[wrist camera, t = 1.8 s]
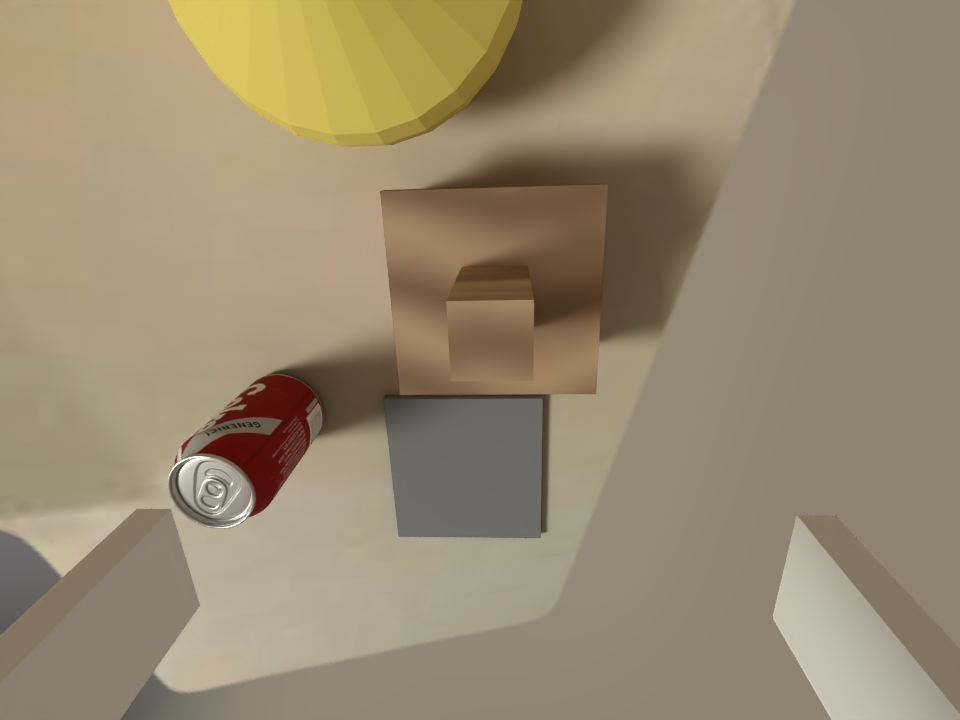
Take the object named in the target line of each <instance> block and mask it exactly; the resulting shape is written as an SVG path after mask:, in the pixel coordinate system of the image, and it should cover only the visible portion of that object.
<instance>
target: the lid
mask: <svg viewBox="0 0 960 720" xmlns="http://www.w3.org/2000/svg"><path fill="white" fill-rule="evenodd" d="M380 194H381V205H382V215H383V225H384V235H385V246H386V256H387V266H388V277H389V287H390V297H391V307H392V318H393V328H394V338H395V349H396V359H397V369H398V379H399V390H400V395H502V394H596V386H597V369H598V352H599V334H600V317H601V300H602V283H603V266H604V249H605V232H606V214H607V197H608V184H572V185H539V186H505V187H472V188H438V189H405V190H383V191H380Z"/></svg>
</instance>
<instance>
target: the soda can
mask: <svg viewBox="0 0 960 720" xmlns="http://www.w3.org/2000/svg"><path fill="white" fill-rule="evenodd" d="M323 422H324V410H323V406H322V403H321V401H320V399H319V397H318V396H317V394H316V393H315V392H314V391H313V390H312V388H311V387H309V386H308V385H307V384H306V383H304V382H303V381H301V380H299V379H297V378H295V377H292V376H288V375H283V374H273V375H267V376H264V377H262V378H260V379H258V380H256V381H255V382H254V383H253V384H251V385H250V386H249V387H248V388H247V389H246V390H244V391H243V392H242V393H241V394H240V395H239V396H238V397H236V398H235V399H234V400H233V401H232V402H231V403H230V404H228V405H227V406H226V407H225V408H224V409H223V410H221V411H220V412H219V413H218V414H217V415H216V416H215V417H213V418H212V419H211V420H210V421H209V422H208V423H207V424H205V425H204V426H203V427H202V428H201V429H200V430H198V431H197V432H196V433H195V434H194V435H193V436H192V437H190V438H189V439H188V440H187V441H186V442H185V443H184V444H183V445H182V446H181V448H180V449H179V451H178V453H177V455H176V459H175V465H174V467H173V468H172V469H171V471H170V473H169V476H168V482H167V486H168V492H169V495H170V497H171V500H172V501H173V503H174V505H175V506H176V507H177V508H178V510H179V511H180V512H181V513H182V514H184V515H185V516H186V517H187V518H189V519H190V520H192V521H194V522H196V523H198V524H200V525H203V526H206V527H210V528H219V529H222V528H230V527H234V526H237V525H239V524H241V523H242V522H244V521H245V520H246V519H247V518H248V517H251V516H254V515H256V514H258V513H260V512H261V511H263V510H264V509H265V508H266V507H267V506H268V505H269V504H270V503H271V501H272V500H273V498H274V497H275V496H276V494H277V493H278V491H279V490H280V488H281V487H282V485H283V484H284V483H285V481H286V480H287V478H288V477H289V475H290V474H291V473H292V471H293V470H294V468H295V467H296V465H297V464H298V462H299V461H300V460H301V458H302V457H303V455H304V454H305V452H306V451H307V450H308V448H309V447H310V445H311V444H312V442H313V441H314V439H315V438H316V437H317V435H318V434H319V432H320V430H321V429H322V426H323Z"/></svg>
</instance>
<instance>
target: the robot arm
mask: <svg viewBox="0 0 960 720" xmlns="http://www.w3.org/2000/svg"><path fill="white" fill-rule="evenodd" d="M199 606H200V604H199V601H198V597H197V594H196V591H195V587H194V584H193V581H192V578H191V574H190V571H189V568H188V564H187V561H186V558H185V554H184V551H183V548H182V545H181V541H180V538H179V535H178V531H177V528H176V525H175V521H174V518H173V515H172V511H171V509H136V510H135V511H134V512H133V513H132V514H131V515H130V516H129V517H128V518H127V519H126V520H124V521H123V522H122V523H121V524H120V525H119V526H118V527H117V528H116V529H115V530H114V531H113V532H112V533H110V534H109V535H108V536H107V537H106V538H105V539H104V540H103V541H102V542H101V543H100V544H99V545H97V546H96V547H95V548H94V549H93V550H92V551H91V552H90V553H89V554H88V555H87V556H86V557H85V558H83V559H82V560H81V561H80V562H79V563H78V564H77V565H76V566H75V567H74V568H73V569H72V570H71V571H69V572H68V573H67V574H66V575H65V576H64V577H63V578H62V579H61V580H60V581H59V582H58V583H57V584H56V585H54V586H53V587H52V588H51V589H50V590H49V591H48V592H47V593H46V594H45V595H44V596H43V597H42V598H40V599H39V600H38V601H37V602H36V603H35V604H34V605H33V606H32V607H31V608H30V609H28V610H27V611H26V612H25V613H24V614H23V615H22V616H21V617H20V618H19V619H18V620H17V621H15V622H14V623H13V624H12V625H11V626H10V627H9V628H8V629H7V630H6V631H5V632H4V633H3V634H1V635H0V720H120V718H121V717H122V716H123V714H124V713H125V712H126V710H127V709H128V707H129V706H130V704H131V703H132V702H133V700H134V699H135V697H136V696H137V694H138V693H139V692H140V690H141V689H142V687H143V686H144V684H145V683H146V682H147V680H148V679H149V677H150V676H151V674H152V673H153V672H154V670H155V669H156V667H157V666H158V664H159V663H160V662H161V660H162V659H163V657H164V656H165V654H166V653H167V652H168V650H169V649H170V647H171V646H172V644H173V643H174V642H175V640H176V639H177V637H178V636H179V634H180V633H181V632H182V630H183V629H184V627H185V626H186V624H187V623H188V622H189V620H190V619H191V617H192V616H193V614H194V613H195V612H196V610H197V609H198V607H199ZM773 619H774V621H775V623H776V624H777V626H778V628H779V629H780V632H781V633H782V635H783V636H784V638H785V640H786V642H787V644H788V645H789V647H790V649H791V650H792V652H793V654H794V656H795V657H796V659H797V661H798V662H799V664H800V666H801V668H802V669H803V671H804V673H805V675H806V676H807V678H808V680H809V681H810V683H811V685H812V687H813V688H814V690H815V692H816V694H817V695H818V697H819V699H820V700H821V702H822V704H823V706H824V707H825V709H826V711H827V712H828V714H829V716H830V718H831V719H832V720H960V648H959V647H958V646H957V645H956V643H955V642H954V641H953V640H952V639H951V638H950V637H949V636H948V635H947V634H946V633H945V632H944V631H943V629H942V628H941V627H940V626H939V625H938V624H937V623H936V622H935V621H934V620H933V619H932V618H931V617H930V616H929V614H927V612H926V611H925V610H924V609H923V608H922V607H921V606H920V605H919V604H918V603H917V602H916V601H915V600H914V598H913V597H912V596H911V595H910V594H909V593H908V592H907V591H906V590H905V589H904V588H903V587H902V585H901V584H900V583H899V582H898V581H897V580H896V579H895V578H894V577H893V576H892V575H891V574H890V573H889V572H888V570H887V569H886V568H885V567H884V566H883V565H882V564H881V563H880V562H879V561H878V560H877V559H876V558H875V557H874V555H873V554H872V553H871V552H870V551H869V550H868V549H867V548H866V547H865V546H864V545H863V544H862V543H861V542H860V540H859V539H858V538H857V537H856V536H855V535H854V534H853V533H852V532H851V531H850V530H849V529H848V527H846V526H845V524H844V523H843V522H842V521H841V520H840V519H839V518H838V517H837V516H823V515H822V516H821V515H820V516H819V515H814V516H813V515H797V517H796V521H795V525H794V530H793V534H792V538H791V543H790V546H789V551H788V555H787V559H786V563H785V568H784V572H783V576H782V580H781V584H780V588H779V593H778V597H777V601H776V605H775V610H774V614H773Z"/></svg>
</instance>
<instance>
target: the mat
mask: <svg viewBox="0 0 960 720" xmlns="http://www.w3.org/2000/svg"><path fill="white" fill-rule="evenodd" d="M384 408H385V417H386V426H387V435H388V444H389V453H390V462H391V471H392V480H393V489H394V498H395V507H396V516H397V525H398V534H399V537H490V538H541V478H542V416H543V397H542V395H518V396H385V398H384Z"/></svg>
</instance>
